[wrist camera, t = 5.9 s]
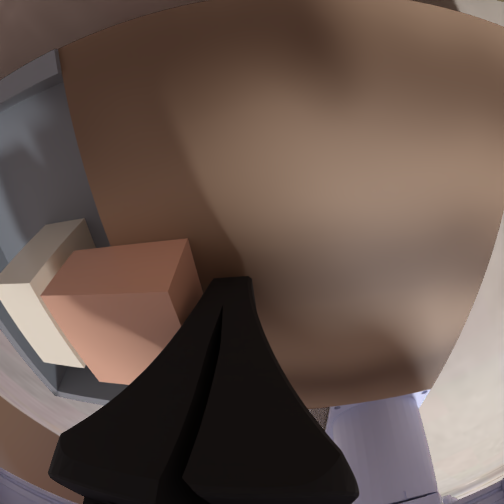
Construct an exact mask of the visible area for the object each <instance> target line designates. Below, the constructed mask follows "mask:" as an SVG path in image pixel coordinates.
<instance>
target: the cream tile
mask: <svg viewBox="0 0 504 504" xmlns="http://www.w3.org/2000/svg"><path fill="white" fill-rule="evenodd" d="M93 248H96V247H95V244H94V242H93V239H92V236H91V234H90V231H89V229H88V226H87V223H86V221H85V218H82V219H76V220H70V221H64V222H58V223H53V224H47V225H45V226H44V227H43V228H42V229H41V230H40V231H39V232H38V233H37V234H36V235H35V236H34V237H33V238H32V239H31V240H30V241H29V242H28V243H27V244H26V245H25V246H24V247H23V248H22V249H21V251H20V252H19V253H18V254H17V255H16V256H15V257H14V258H13V259H12V260H11V262H10V263H9V264H8V265H7V266H6V267H5V268H4V270H3V271H2V272H1V273H0V300H1V302H2V304H3V305H4V307H5V308H6V310H7V312H8V313H9V315H10V316H11V318H12V319H13V321H14V322H15V324H16V325H17V327H18V328H19V330H20V331H21V332H22V334H23V335H24V337H25V338H26V339H27V341H28V342H29V344H30V345H31V346H32V348H33V349H34V350H35V352H36V353H37V354H38V355H39V357H40V358H41V359H42V361H43V362H46V363H52V364H58V365H65V366H71V367H79V368H85V365H86V364H85V362H84V361H83V360H82V358H81V357H80V356H79V354H78V353H77V352H76V350H75V349H74V347H73V346H72V344H71V343H70V342H69V340H68V339H67V337H66V336H65V334H64V333H63V331H62V330H61V328H60V327H59V325H58V324H57V322H56V321H55V319H54V318H53V316H52V314H51V313H50V311H49V310H48V308H47V306H46V305H45V303H44V301H43V300H42V298H41V296H40V295H41V294H42V292H43V291H44V290H45V288H46V287H47V285H48V284H49V283H50V281H51V280H52V279H53V277H54V276H55V275H56V273H57V272H58V271H59V269H60V268H61V267H62V265H63V264H64V263H65V261H66V260H67V259H68V258H69V256H70V255H71V254H72V252H73V251H76V250H84V249H93Z"/></svg>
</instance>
